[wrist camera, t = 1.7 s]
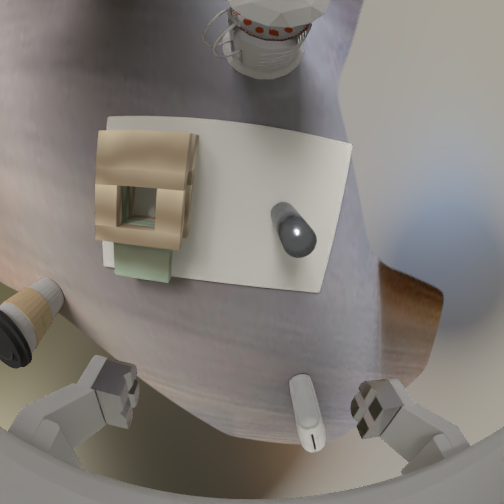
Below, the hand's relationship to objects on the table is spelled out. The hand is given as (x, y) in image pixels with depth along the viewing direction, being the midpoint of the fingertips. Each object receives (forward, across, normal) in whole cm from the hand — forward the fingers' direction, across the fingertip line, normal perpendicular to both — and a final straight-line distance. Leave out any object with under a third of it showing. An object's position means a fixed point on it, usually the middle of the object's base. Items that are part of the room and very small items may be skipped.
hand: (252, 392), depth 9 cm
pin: (+26, -5, -2) cm, 26 cm away
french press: (+26, +1, -22) cm, 34 cm away
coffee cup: (+28, +30, +16) cm, 44 cm away
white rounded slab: (+28, -15, +29) cm, 43 cm away
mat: (+26, +3, -2) cm, 27 cm away
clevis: (+26, +11, -2) cm, 28 cm away
